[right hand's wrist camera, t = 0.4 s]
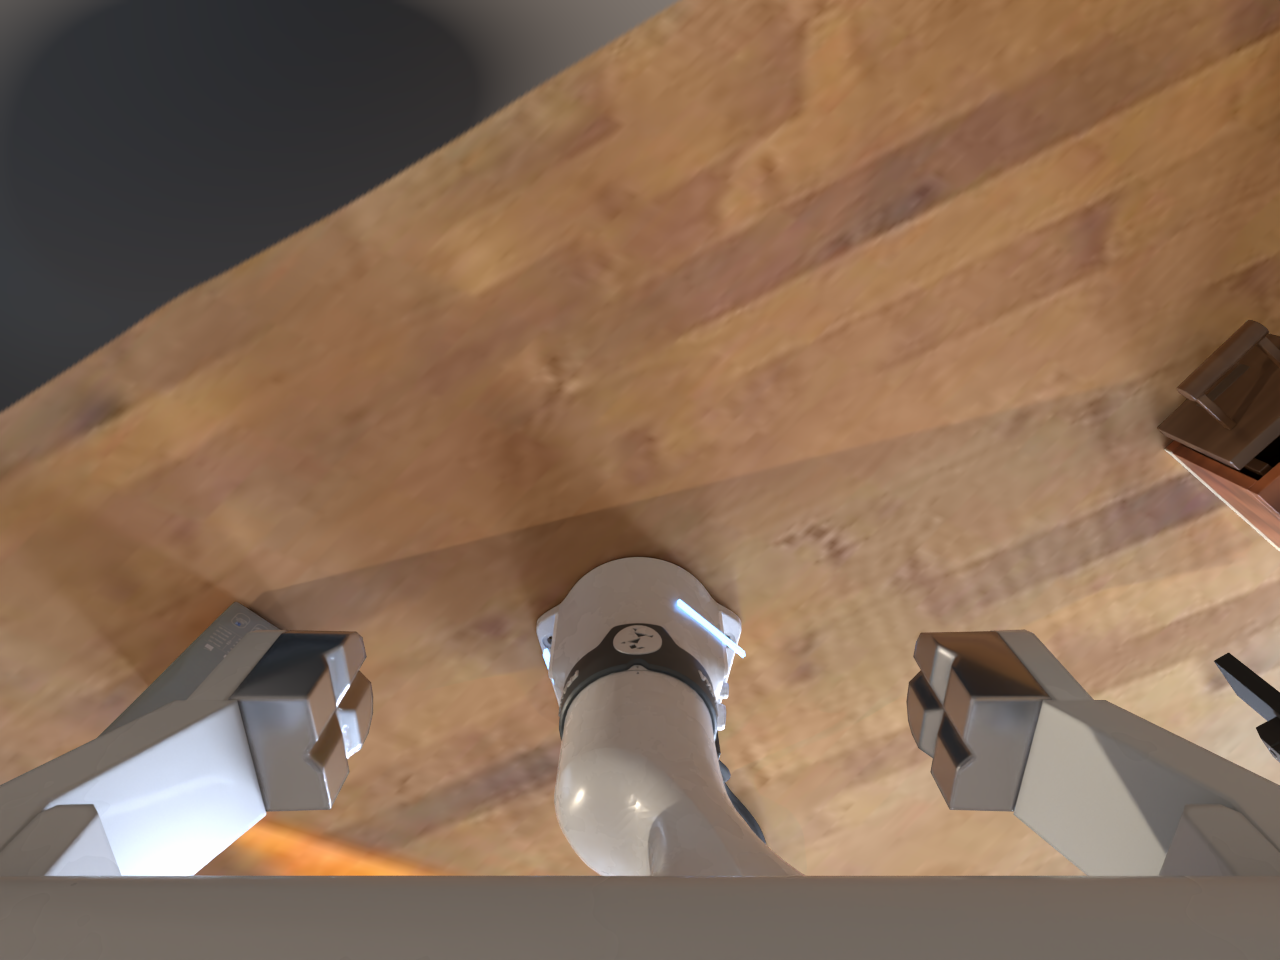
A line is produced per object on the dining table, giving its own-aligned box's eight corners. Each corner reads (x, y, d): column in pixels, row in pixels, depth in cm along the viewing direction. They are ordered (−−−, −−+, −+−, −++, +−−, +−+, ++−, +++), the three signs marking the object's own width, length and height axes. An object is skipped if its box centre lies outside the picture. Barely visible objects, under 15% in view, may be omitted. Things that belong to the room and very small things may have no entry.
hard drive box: (235, 596, 65) (74, 757, 46) (308, 643, 67) (181, 816, 48) (155, 700, 69) (-22, 885, 51) (225, 741, 71) (79, 934, 53)
